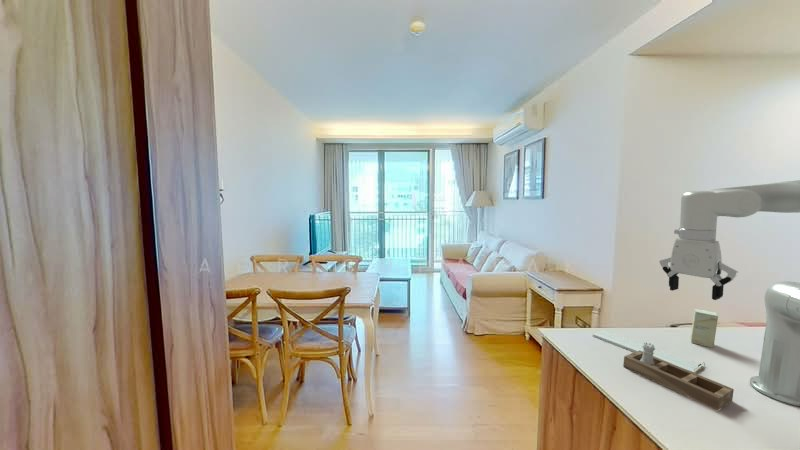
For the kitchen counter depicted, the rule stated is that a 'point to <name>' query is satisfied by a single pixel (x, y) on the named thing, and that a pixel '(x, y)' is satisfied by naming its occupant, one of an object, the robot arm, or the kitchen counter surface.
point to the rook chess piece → (648, 354)
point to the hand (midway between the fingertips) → (694, 294)
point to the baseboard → (637, 346)
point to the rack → (681, 381)
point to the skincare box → (704, 327)
